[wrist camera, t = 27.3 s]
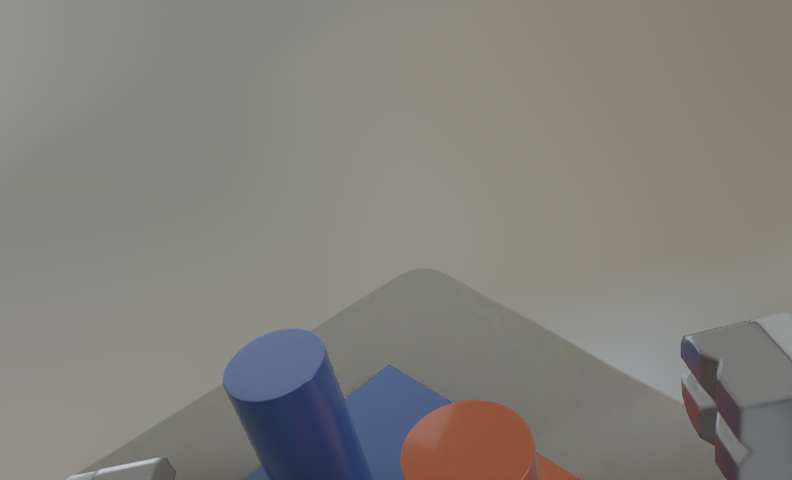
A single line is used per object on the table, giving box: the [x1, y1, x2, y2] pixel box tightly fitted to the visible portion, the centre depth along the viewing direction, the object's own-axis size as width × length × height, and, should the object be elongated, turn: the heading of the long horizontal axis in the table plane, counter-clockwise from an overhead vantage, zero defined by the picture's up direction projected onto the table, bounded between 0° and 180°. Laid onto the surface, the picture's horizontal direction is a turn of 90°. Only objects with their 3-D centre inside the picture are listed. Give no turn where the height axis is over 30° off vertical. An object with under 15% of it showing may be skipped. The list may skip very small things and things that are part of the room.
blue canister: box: [223, 328, 374, 480], centre depth 38 cm, size 6×6×11 cm
